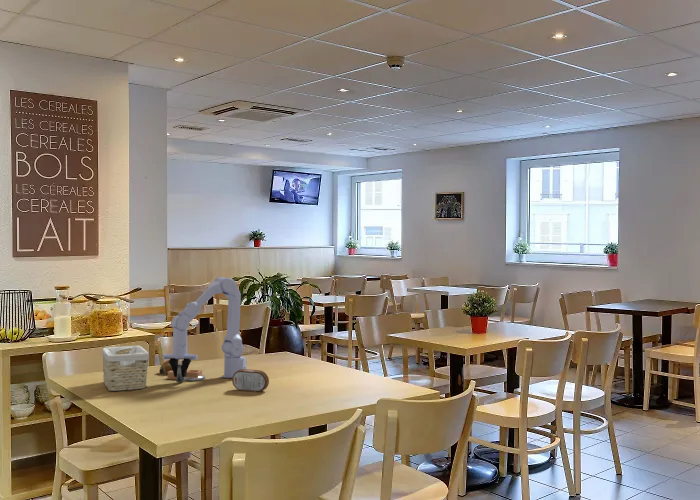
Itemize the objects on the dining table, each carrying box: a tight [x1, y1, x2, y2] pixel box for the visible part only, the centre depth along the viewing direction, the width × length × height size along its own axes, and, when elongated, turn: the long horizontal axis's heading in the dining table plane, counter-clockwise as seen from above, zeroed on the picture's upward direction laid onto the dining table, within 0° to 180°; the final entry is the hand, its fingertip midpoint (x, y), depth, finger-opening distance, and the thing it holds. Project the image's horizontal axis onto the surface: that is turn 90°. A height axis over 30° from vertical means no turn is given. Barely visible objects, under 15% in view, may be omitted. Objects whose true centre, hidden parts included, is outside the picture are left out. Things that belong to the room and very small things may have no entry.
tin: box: [231, 368, 270, 393], centre depth 263 cm, size 15×3×8 cm, turn 74°
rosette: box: [183, 374, 206, 382], centre depth 285 cm, size 10×10×1 cm
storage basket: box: [101, 345, 150, 392], centre depth 271 cm, size 24×16×15 cm
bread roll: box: [158, 359, 182, 376], centre depth 298 cm, size 10×10×8 cm
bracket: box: [167, 369, 203, 380], centre depth 285 cm, size 14×6×3 cm, turn 84°
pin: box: [175, 364, 185, 383], centre depth 277 cm, size 3×3×7 cm
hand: (180, 376), depth 277 cm, fingers closed on pin, 3 cm apart
